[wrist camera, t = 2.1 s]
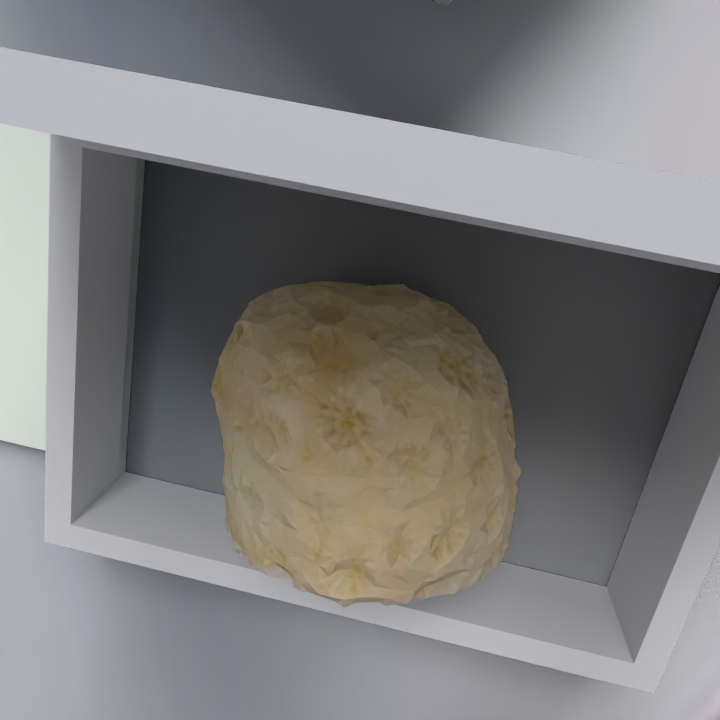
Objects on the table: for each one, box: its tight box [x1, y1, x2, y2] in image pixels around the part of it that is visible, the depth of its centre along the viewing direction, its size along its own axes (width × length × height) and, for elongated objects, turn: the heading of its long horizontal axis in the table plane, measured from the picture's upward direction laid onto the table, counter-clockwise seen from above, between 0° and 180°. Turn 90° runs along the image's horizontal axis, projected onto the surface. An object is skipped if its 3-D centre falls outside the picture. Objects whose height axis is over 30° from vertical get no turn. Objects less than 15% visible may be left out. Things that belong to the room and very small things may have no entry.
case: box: [0, 47, 720, 694], centre depth 16 cm, size 23×16×15 cm
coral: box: [211, 281, 522, 608], centre depth 19 cm, size 10×10×10 cm
